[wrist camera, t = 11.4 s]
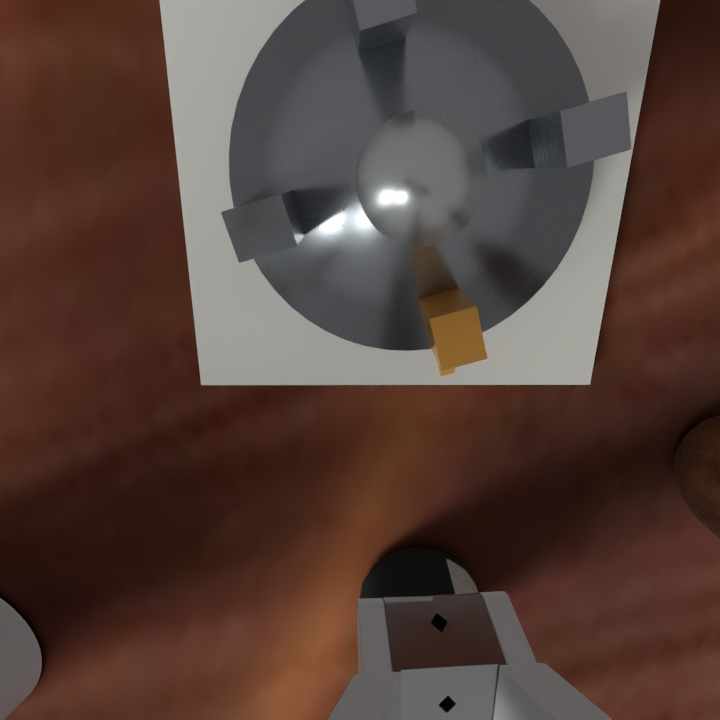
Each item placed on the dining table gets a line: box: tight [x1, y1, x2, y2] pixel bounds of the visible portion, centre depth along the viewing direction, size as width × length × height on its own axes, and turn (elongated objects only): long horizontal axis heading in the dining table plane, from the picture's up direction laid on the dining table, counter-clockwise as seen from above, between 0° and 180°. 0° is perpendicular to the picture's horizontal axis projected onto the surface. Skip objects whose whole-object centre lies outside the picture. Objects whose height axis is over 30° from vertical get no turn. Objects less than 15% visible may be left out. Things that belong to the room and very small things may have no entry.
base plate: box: [160, 0, 660, 385], centre depth 26 cm, size 22×22×2 cm
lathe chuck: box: [221, 0, 631, 371], centre depth 22 cm, size 16×16×6 cm
